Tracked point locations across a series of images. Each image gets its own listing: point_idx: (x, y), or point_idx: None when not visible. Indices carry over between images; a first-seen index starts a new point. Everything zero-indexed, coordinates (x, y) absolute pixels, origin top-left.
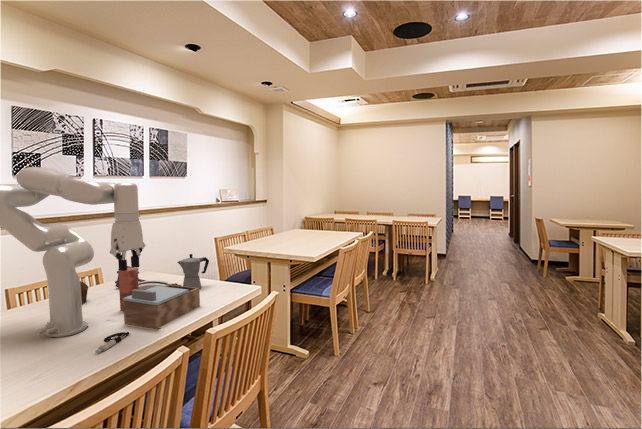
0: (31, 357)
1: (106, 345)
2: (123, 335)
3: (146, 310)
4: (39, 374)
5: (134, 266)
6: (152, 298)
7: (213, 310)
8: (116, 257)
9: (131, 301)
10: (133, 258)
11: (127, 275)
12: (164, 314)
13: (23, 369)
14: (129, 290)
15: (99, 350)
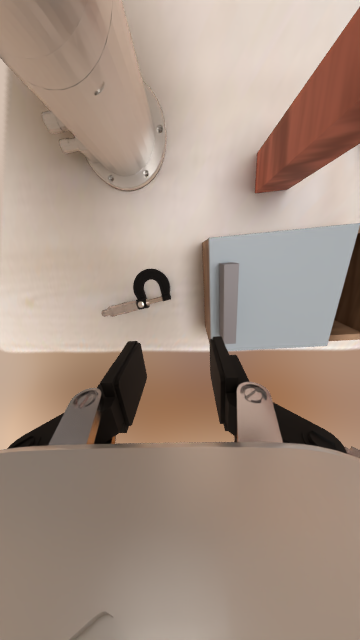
0: (36, 224)
1: (117, 314)
2: (157, 301)
3: (208, 313)
4: (34, 296)
5: (210, 359)
6: (220, 335)
7: (315, 347)
8: (55, 425)
9: (209, 271)
10: (218, 390)
11: (344, 108)
12: None
13: (20, 259)
14: (294, 160)
15: (106, 315)
